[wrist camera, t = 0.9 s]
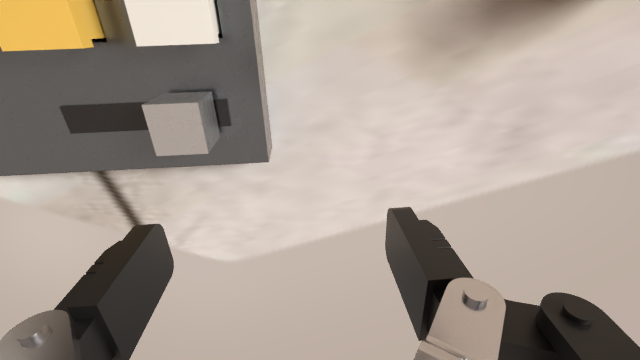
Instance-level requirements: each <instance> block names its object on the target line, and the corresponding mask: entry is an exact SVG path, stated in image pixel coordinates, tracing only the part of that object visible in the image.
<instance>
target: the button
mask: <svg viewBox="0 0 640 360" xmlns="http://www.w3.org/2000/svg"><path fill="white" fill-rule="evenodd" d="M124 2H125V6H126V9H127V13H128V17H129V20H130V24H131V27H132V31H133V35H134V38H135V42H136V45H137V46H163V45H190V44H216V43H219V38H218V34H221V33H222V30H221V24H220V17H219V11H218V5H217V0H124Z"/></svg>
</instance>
